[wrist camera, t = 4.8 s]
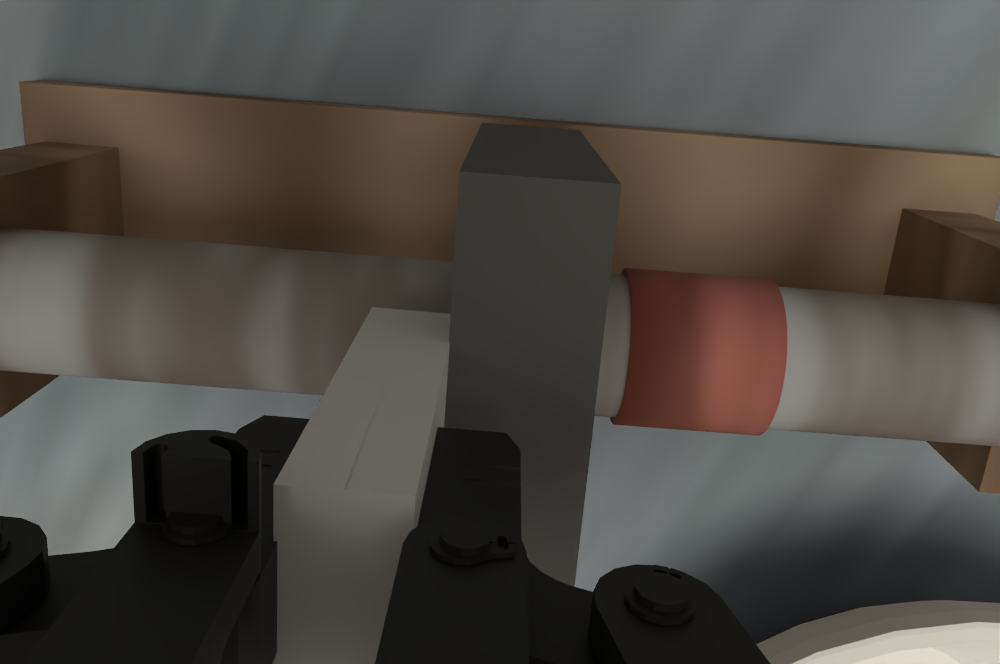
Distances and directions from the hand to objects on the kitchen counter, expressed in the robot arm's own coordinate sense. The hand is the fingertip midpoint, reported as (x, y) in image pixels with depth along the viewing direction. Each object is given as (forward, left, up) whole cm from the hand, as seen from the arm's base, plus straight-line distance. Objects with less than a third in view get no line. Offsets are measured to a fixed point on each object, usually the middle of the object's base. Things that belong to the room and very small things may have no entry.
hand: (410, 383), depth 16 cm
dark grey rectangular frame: (0, +2, -7) cm, 8 cm away
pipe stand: (0, +2, -10) cm, 10 cm away
